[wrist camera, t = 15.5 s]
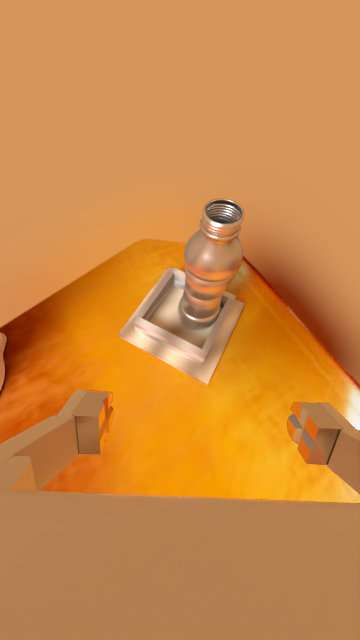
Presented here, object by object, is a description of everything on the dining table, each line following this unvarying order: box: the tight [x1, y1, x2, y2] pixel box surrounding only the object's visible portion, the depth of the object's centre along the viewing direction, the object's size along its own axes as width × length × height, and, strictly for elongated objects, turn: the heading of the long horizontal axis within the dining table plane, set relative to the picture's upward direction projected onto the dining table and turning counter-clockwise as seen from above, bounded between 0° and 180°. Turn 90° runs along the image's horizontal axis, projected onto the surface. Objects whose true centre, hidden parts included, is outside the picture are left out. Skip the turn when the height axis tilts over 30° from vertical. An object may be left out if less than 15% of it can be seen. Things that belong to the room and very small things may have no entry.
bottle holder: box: [118, 267, 245, 385], centre depth 36 cm, size 16×16×4 cm
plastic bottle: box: [178, 199, 244, 330], centre depth 28 cm, size 6×7×20 cm
